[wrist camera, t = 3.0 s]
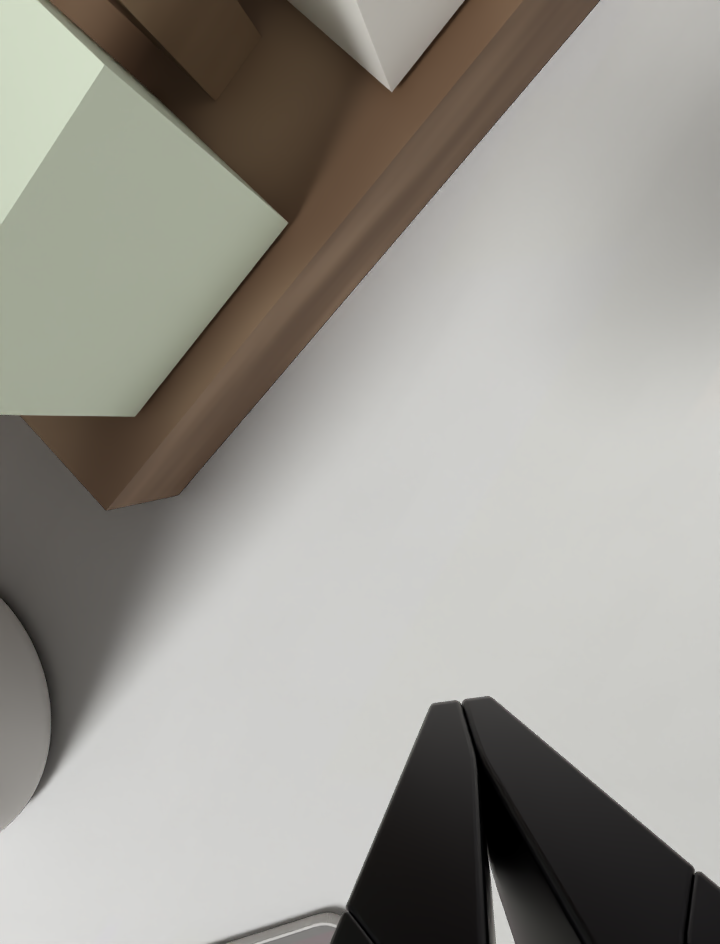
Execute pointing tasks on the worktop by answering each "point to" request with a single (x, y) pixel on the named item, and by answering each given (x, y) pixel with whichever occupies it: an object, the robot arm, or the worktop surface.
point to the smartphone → (297, 932)
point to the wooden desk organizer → (291, 189)
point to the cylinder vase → (20, 717)
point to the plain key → (381, 30)
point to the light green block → (105, 225)
